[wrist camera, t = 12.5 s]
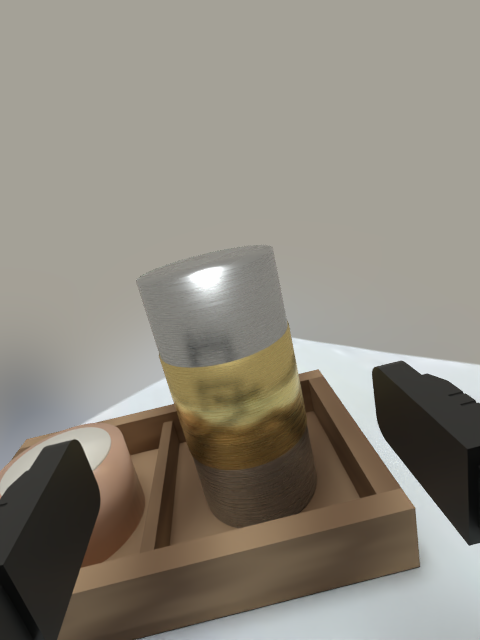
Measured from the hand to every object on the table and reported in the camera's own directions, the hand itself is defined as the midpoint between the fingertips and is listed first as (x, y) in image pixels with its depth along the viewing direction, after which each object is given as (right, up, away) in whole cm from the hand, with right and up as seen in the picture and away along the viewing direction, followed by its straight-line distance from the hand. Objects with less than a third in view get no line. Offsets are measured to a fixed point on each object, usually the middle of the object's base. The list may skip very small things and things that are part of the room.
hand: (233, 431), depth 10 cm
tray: (-3, -7, +10) cm, 13 cm away
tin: (+1, -6, +10) cm, 11 cm away
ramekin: (-8, -8, +10) cm, 15 cm away
